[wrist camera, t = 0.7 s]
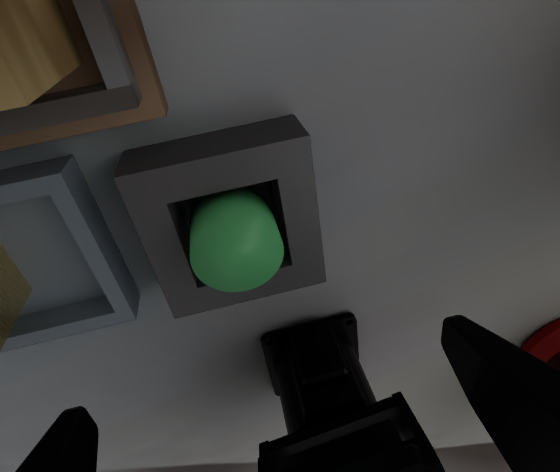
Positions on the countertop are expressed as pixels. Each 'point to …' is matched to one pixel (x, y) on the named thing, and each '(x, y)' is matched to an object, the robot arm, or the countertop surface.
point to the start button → (234, 240)
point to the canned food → (546, 344)
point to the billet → (10, 294)
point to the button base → (216, 178)
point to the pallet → (73, 69)
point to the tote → (61, 254)
